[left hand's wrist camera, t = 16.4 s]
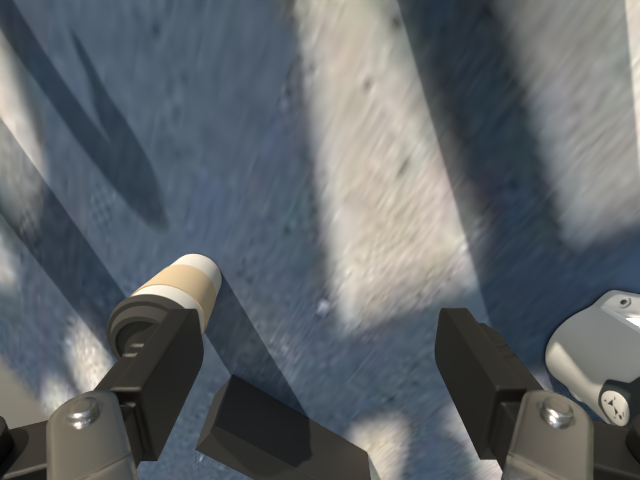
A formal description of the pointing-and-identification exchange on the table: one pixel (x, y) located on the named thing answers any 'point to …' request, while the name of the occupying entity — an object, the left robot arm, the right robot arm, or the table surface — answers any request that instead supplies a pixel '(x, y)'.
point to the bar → (275, 439)
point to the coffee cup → (165, 299)
